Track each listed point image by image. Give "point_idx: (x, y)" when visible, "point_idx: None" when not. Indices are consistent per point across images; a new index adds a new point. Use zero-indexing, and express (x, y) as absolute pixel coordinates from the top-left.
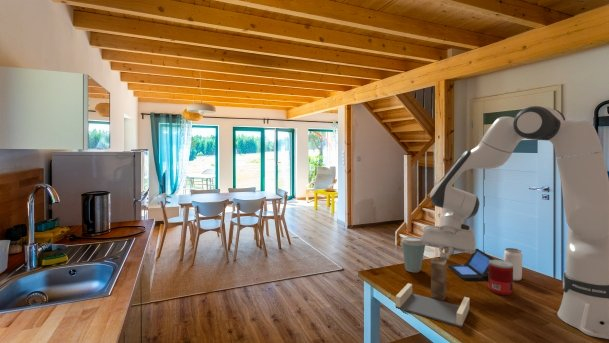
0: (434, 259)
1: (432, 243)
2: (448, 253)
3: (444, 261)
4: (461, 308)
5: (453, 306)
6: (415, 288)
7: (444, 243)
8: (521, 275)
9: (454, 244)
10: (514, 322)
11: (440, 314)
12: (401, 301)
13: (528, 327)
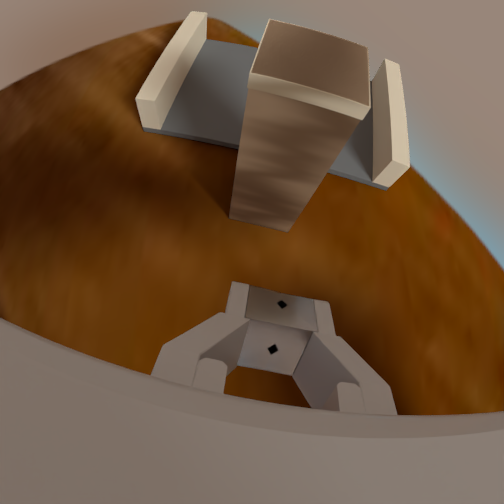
0: (352, 66)
1: (488, 416)
2: (225, 314)
3: (267, 41)
4: (186, 31)
5: (202, 119)
6: (372, 258)
7: (332, 431)
8: None
9: (90, 398)
10: (32, 116)
11: (250, 65)
12: (377, 79)
13: (13, 109)
